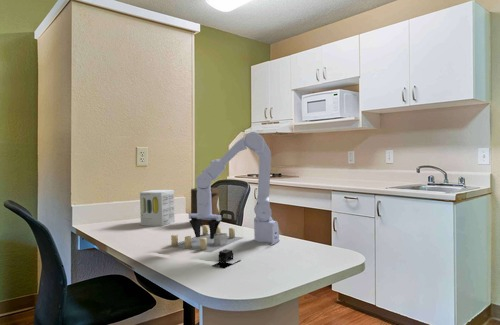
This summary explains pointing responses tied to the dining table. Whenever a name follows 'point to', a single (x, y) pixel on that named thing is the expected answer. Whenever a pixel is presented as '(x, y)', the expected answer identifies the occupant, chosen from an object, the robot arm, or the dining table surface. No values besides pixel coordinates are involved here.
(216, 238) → the faceted star polyhedron
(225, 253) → the black block
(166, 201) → the supplement box
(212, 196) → the wooden container
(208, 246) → the board
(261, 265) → the dining table surface
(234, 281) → the dining table surface
